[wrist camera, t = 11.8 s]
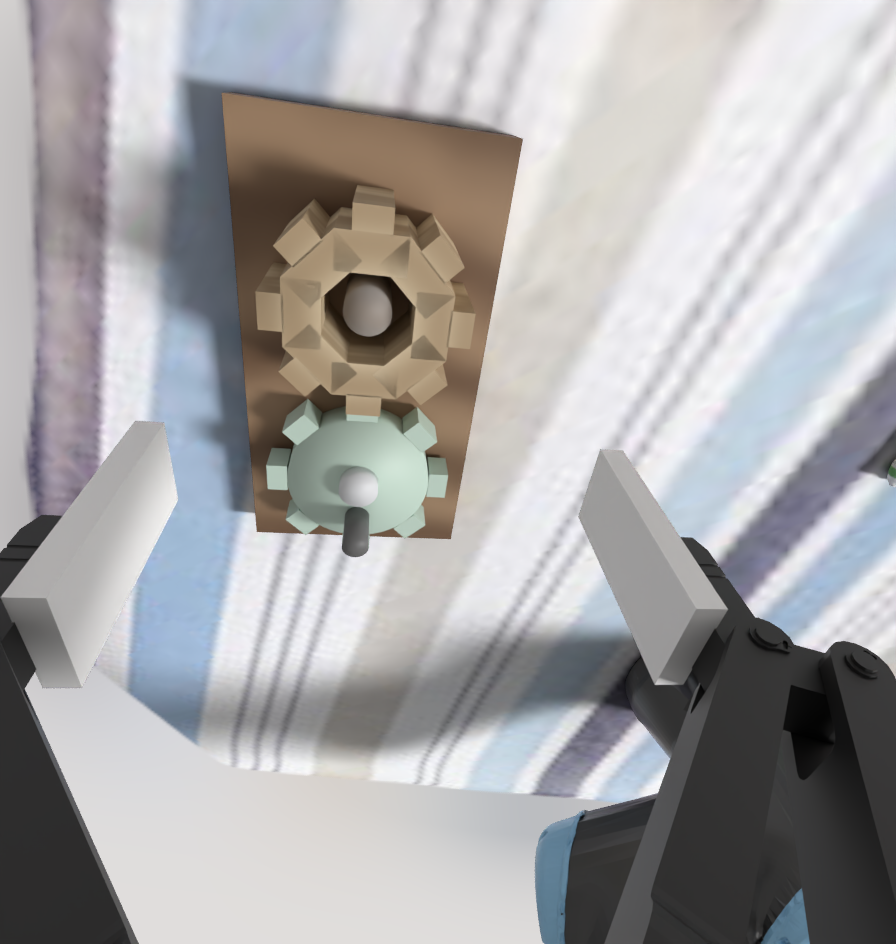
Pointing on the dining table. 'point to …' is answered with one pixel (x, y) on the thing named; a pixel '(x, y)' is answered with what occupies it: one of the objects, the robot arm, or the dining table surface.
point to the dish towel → (892, 474)
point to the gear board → (331, 177)
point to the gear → (357, 472)
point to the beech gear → (325, 331)
